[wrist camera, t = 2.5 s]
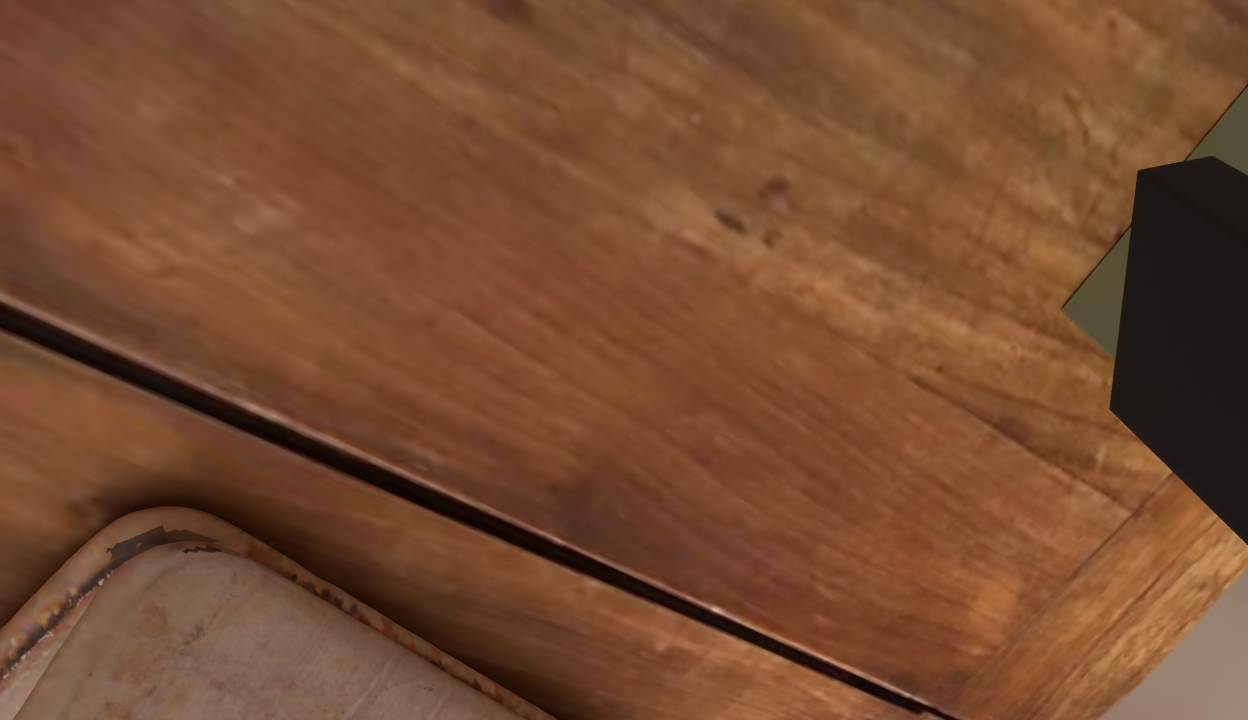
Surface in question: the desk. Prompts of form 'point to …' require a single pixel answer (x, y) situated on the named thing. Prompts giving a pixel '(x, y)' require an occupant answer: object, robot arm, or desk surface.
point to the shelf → (1096, 306)
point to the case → (220, 638)
